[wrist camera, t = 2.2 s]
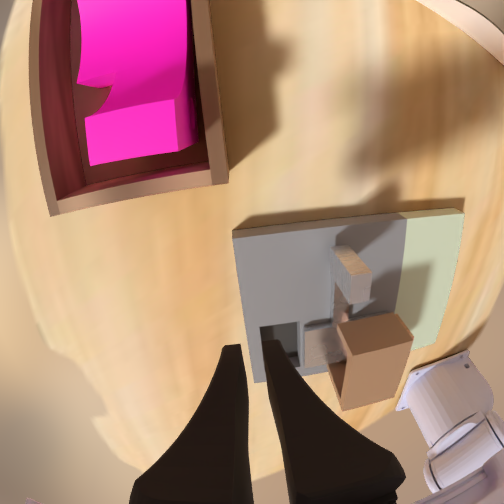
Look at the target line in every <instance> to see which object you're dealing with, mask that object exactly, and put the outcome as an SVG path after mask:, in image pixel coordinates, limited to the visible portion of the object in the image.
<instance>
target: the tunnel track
mask: <svg viewBox="0 0 504 504" xmlns="http://www.w3.org/2000/svg"><path fill="white" fill-rule="evenodd" d="M464 216H465V213H463V212H461V211H459V210H457V209H455V208H444V209H431V210H419V211H408V212H396V213H386V214H375V215H365V216H355V217H345V218H335V219H326V220H316V221H307V222H298V223H289V224H281V225H272V226H264V227H256V228H247V229H239V230H232V240H233V247H234V254H235V261H236V268H237V275H238V281H239V288H240V295H241V301H242V308H243V315H244V321H245V328H246V334H247V340H248V347H249V353H250V359H251V366H252V372H253V378H254V383H259V382H267V380H266V373H265V364H264V356H263V347H262V341H268V340H275V339H278V340H280V341H281V344H282V346H283V348H284V350H285V352H286V354H287V356H288V357H289V359H290V361H291V362H292V364H293V365H294V367H295V368H296V370H297V371H298V372H299V374H300V375H301V376H307V375H312V374H318V373H323V372H329V375H330V378H331V381H332V383H333V386H334V389H335V392H336V395H337V398H338V400H339V403H340V406H341V409H342V411H346V410H350V409H354V408H358V407H362V406H366V405H369V404H373V403H376V402H380V401H383V400H386V399H390V398H393V397H394V396H395V393H396V391H397V388H398V385H399V383H400V380H401V377H402V374H403V371H404V369H405V366H406V363H407V360H408V356H409V353H410V351H412V350H415V349H418V348H421V347H425V346H428V345H431V344H434V343H435V341H436V338H437V335H438V332H439V329H440V326H441V323H442V319H443V316H444V313H445V309H446V306H447V302H448V298H449V294H450V290H451V286H452V282H453V278H454V273H455V269H456V264H457V259H458V254H459V249H460V243H461V237H462V230H463V223H464ZM345 244H348V245H349V246H350V248H351V249H352V250H353V251H354V252H355V253H356V254H357V255H358V257H359V258H360V259H361V260H362V261H363V262H364V263H365V265H366V266H367V267H368V268H369V269H370V270H371V272H372V280H371V289H370V298H369V301H366V302H361V303H356V304H350V305H349V316H348V319H350V318H355V317H360V316H365V315H370V314H375V313H379V312H384V311H388V312H389V313H387V314H382V315H378V316H373V317H368V318H364V319H359V320H354V321H349V322H343V323H338V324H337V332H338V334H339V336H340V338H341V340H342V342H343V345H344V347H345V349H346V351H347V353H348V357H347V360H345V361H340V362H335V363H331V364H325V365H320V366H315V367H309V368H304V365H303V327H304V326H311V325H317V324H322V323H328V322H330V318H331V298H332V275H331V274H330V272H329V270H330V246H338V245H345ZM395 314H398V315H399V317H400V318H401V319H402V321H403V322H404V323H405V325H406V326H407V327H408V329H409V330H410V331H411V333H412V334H413V336H414V340H413V339H412V338H411V336H410V335H409V333H408V332H407V331H406V329H405V328H404V327H403V325H402V324H401V322H400V321H399V320H398V318H397V317H396V316H395ZM412 343H413V344H412Z"/></svg>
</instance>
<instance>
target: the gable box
mask: <svg viewBox="0 0 504 504" xmlns="http://www.w3.org/2000/svg"><path fill="white" fill-rule="evenodd" d="M416 1H418V2H419V3H421V4H423V5H425V6H426V7H428V8H429V9H431V10H433V11H434V12H436V13H437V14H439V15H440V16H442V17H443V18H445V19H446V20H448V21H449V22H451V23H452V24H454V25H455V26H456V27H458V28H459V29H460V30H462V31H463V32H465V33H466V34H467V35H468V36H470V37H471V38H472V39H474V40H475V41H476V42H477V43H479V44H480V45H481V46H482V47H483V48H485V49H486V50H487V51H488V52H489V53H490V54H492V55H493V56H494V57H495V58H496V59H497V60H498V61H499V62H500V63H501V64H503V65H504V0H416Z"/></svg>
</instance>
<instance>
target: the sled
mask: <svg viewBox="0 0 504 504" xmlns="http://www.w3.org/2000/svg"><path fill="white" fill-rule="evenodd" d="M329 272H330V274H331V275H332V298H331V318H330V322H328V323H322V324H317V325H311V326H304V327H303V365H304V368H309V367H315V366H320V365H325V364H331V363H335V362H340V361H345V360H347V357H348V353H347V351H346V349H345V347H344V345H343V342H342V340H341V338H340V336H339V334H338V332H337V324H338V323H343V322H349V321H354V320H359V319H364V318H368V317H373V316H378V315H382V314H387V313H389V312H388V311H384V312H379V313H375V314H370V315H365V316H360V317H355V318H350V319H348V316H349V305H350V304H356V303H361V302H366V301H369V298H370V289H371V280H372V272H371V270H370V269H369V268H368V267H367V266H366V265H365V263H364V262H363V261H362V260H361V259H360V258H359V257H358V255H357V254H356V253H355V252H354V251H353V250H352V249H351V248H350V246H349V245H348V244H345V245H338V246H330V270H329ZM395 316H396V317H397V318H398V320H399V321H400V322H401V324H402V325H403V327H404V328H405V329H406V331H407V332H408V333H409V335H410V336H411V338H412V339H413V340H414V336H413V334H412V333H411V331H410V330H409V329H408V327H407V326H406V325H405V323H404V322H403V321H402V319H401V318H400V317H399V315H398V314H395ZM412 344H413V343H412ZM408 357H409V356H408ZM403 372H404V371H403Z"/></svg>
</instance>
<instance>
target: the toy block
mask: <svg viewBox="0 0 504 504" xmlns="http://www.w3.org/2000/svg"><path fill="white" fill-rule="evenodd" d="M77 3H78V8H79V14H80V21H81V36H82V46H81V61H80V68H79V74H78V79H77V83H76V84H81V85H86V86H91V87H96V88H100V89H101V88H104V87H108V86H112V85H113V86H112V89H111V91H110V93H109V96H108V98H107V99H106V101H105V103H104V104H103V105H102V107H101V108H100V109H99V110H98V111H97V112H96V113H94V114H92V115H91V116H89V117H86V118H85V127H86V137H87V146H88V155H89V162H90V166H93V165H98V164H103V163H108V162H113V161H118V160H124V159H130V158H135V157H142V156H148V155H155V154H162V153H169V152H177V151H180V150H182V149H184V148H186V147H189V146H191V145H193V144H195V143H197V142H199V137H198V124H197V110H196V95H195V78H194V58H193V33H192V7H191V0H77Z"/></svg>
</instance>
